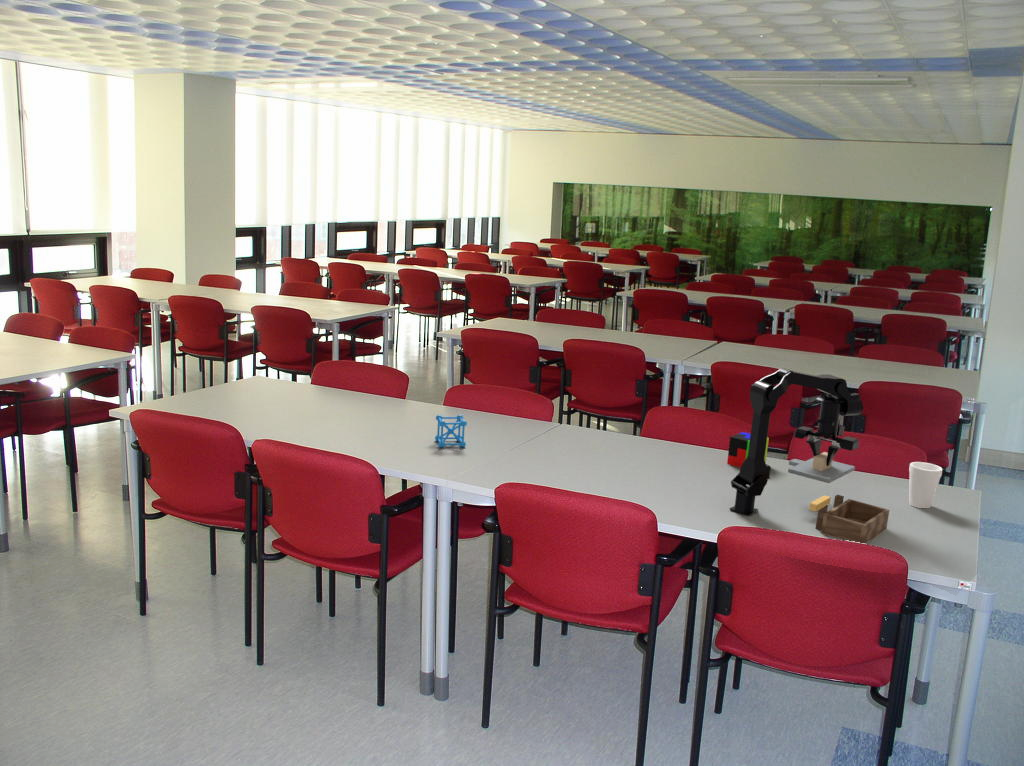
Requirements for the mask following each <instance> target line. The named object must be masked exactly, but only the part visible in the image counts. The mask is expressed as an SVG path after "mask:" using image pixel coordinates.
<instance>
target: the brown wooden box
mask: <svg viewBox="0 0 1024 766" xmlns="http://www.w3.org/2000/svg"><path fill="white" fill-rule="evenodd" d="M844 497H845V496H844V495H841V494H836V495H835V496H834V502H833V508H831V509H830V510H828V507H829V504H828V505H827V506H825V507H823V508H821V509H820V510H818V511H817V515H816V522H815V523H816V524H815V529H816V530H819V531H821V532H820V534H822V535H825V536H829V537H832V538H835V539H838V540H841V539H842V541H844V540H849V541H855V542H860V543H866V544H868V543H869V542H871V541H872V540H873V539H875V538H876V537H877V536H879V535H880V534H882V533H883V532H884V531H886V530H887V528H888V522H889V516H890V509H889V508H888V509H887V508H886V507H885V508H884V507H880V506H876V505H873V504H870V503H866V502H862V501H860V500H859V501H858V500H854V499H851V498H848V499H847V500H844Z"/></svg>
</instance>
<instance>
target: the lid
mask: <svg viewBox="0 0 1024 766" xmlns="http://www.w3.org/2000/svg"><path fill="white" fill-rule="evenodd" d="M827 455H828V451H827V452H826V451H823V452H820V454H819V455H816V456H814V455H813V457H811V458H809V459H807V460H800V459H799V458H794V459H790V460H789V461H788V465H789V466H791V467H790V468H788V473H789V474H793V475H796V476H800V477H804V478H807V479H811V480H815V481H819V482H823V483H826V484H830V483H832V482H834V481H836V480H838V479H841V478H842V477H844V476H846V475H848V474H850V473H852V472H854V471H855V470H856V466H854V465H851V464H847V463H843V462H838V461H835V460H834V458H833V459H832V461H831V463H830V465H829V466H827Z"/></svg>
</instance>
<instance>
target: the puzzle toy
mask: <svg viewBox="0 0 1024 766" xmlns="http://www.w3.org/2000/svg"><path fill="white" fill-rule="evenodd" d="M750 435H751V433H749V432H744V431H742V432H738V433H736V434H734V435H731V436H729V443H728V452H727V453H728V455H727V460H726V461H727V462H726V463H727V465H730V466H733V467H739V468H741V466H742V463H743V462H744V461H745V459H746V458H747V456H748V450H749V442H750ZM768 447H769V437H767V443H766V451H765V458H764V460H765V463H767V455H768Z"/></svg>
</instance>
